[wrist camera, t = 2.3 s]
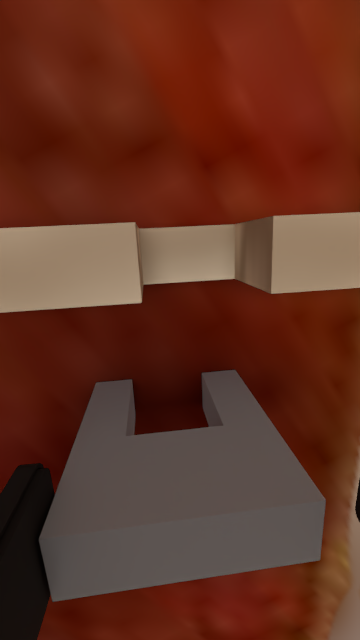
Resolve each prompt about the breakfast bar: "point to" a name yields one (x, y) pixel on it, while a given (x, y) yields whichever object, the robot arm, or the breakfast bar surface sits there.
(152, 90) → the breakfast bar surface
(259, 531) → the notched plate
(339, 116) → the breakfast bar surface
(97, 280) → the beige notched bar
